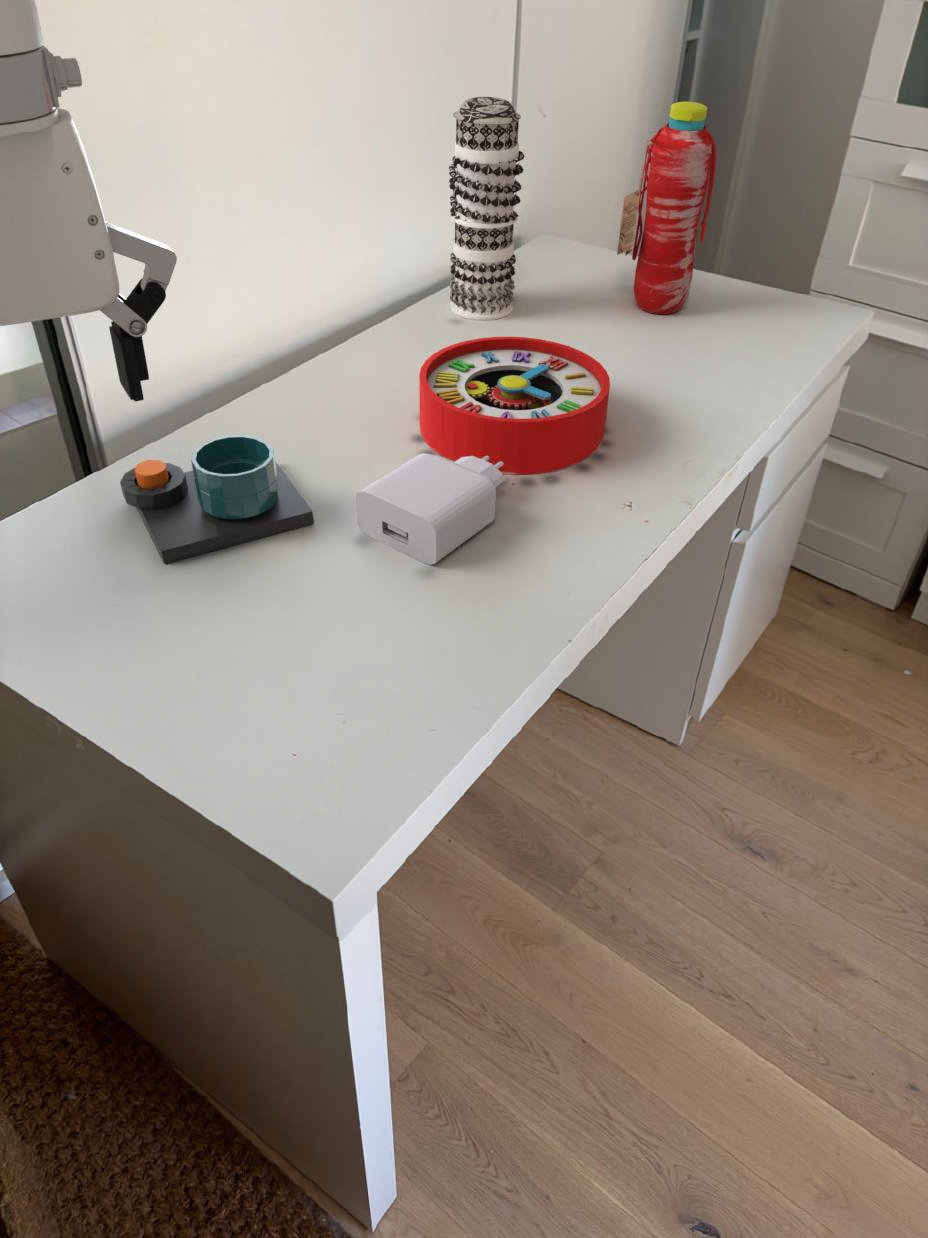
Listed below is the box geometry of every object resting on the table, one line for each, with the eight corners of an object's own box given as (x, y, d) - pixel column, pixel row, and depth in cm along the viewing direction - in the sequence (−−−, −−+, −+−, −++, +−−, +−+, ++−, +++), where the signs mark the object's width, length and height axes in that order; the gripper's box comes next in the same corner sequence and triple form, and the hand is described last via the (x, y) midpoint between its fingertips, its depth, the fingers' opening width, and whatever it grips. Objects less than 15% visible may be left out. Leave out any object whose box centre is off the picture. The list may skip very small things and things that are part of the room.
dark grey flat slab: (154, 567, 84) (148, 538, 82) (121, 498, 92) (114, 470, 91) (314, 524, 90) (311, 496, 88) (269, 462, 98) (266, 436, 96)
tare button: (142, 492, 88) (138, 478, 87) (134, 478, 90) (131, 463, 89) (172, 485, 90) (169, 470, 89) (164, 471, 91) (161, 456, 90)
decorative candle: (524, 318, 127) (537, 108, 111) (455, 323, 126) (458, 111, 110) (506, 292, 134) (515, 91, 118) (441, 297, 132) (441, 93, 116)
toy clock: (379, 379, 100) (497, 321, 112) (381, 429, 104) (495, 368, 116) (535, 443, 90) (646, 372, 102) (531, 496, 94) (639, 422, 106)
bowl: (213, 531, 86) (205, 483, 83) (190, 492, 91) (181, 445, 88) (290, 511, 89) (284, 464, 86) (264, 474, 94) (258, 428, 90)
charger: (532, 497, 94) (435, 569, 85) (457, 466, 98) (357, 531, 89) (535, 454, 91) (435, 524, 82) (458, 424, 95) (355, 487, 86)
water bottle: (596, 306, 131) (618, 101, 115) (617, 287, 137) (641, 89, 121) (681, 324, 127) (717, 114, 111) (699, 304, 132) (736, 101, 116)
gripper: (129, 67, 54) (175, 359, 64) (-232, 85, 47) (-113, 409, 57) (168, 93, 49) (210, 405, 59) (-231, 118, 42) (-101, 466, 52)
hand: (51, 407), depth 58 cm, fingers open, 9 cm apart
